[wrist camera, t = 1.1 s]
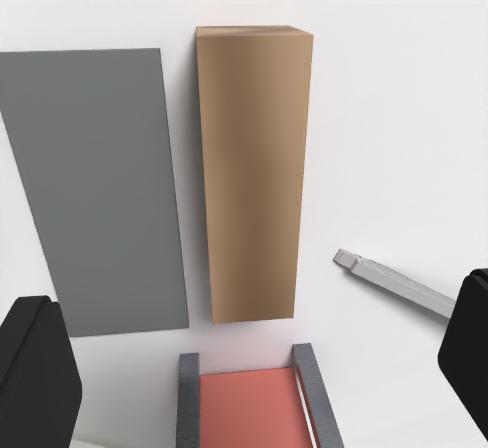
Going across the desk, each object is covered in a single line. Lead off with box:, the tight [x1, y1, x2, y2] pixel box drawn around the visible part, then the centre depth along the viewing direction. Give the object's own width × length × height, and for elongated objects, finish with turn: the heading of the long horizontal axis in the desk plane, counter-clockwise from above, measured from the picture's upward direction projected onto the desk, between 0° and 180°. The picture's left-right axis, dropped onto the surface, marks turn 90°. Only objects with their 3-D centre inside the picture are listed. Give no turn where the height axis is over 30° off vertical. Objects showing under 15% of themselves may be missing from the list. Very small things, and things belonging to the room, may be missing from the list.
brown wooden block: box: [196, 25, 313, 324], centre depth 24 cm, size 5×16×6 cm, turn 0°
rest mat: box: [0, 48, 189, 337], centre depth 27 cm, size 9×20×1 cm, turn 1°
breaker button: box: [200, 367, 313, 448], centre depth 32 cm, size 8×2×9 cm, turn 91°
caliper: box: [334, 249, 456, 318], centre depth 31 cm, size 20×1×6 cm, turn 64°
